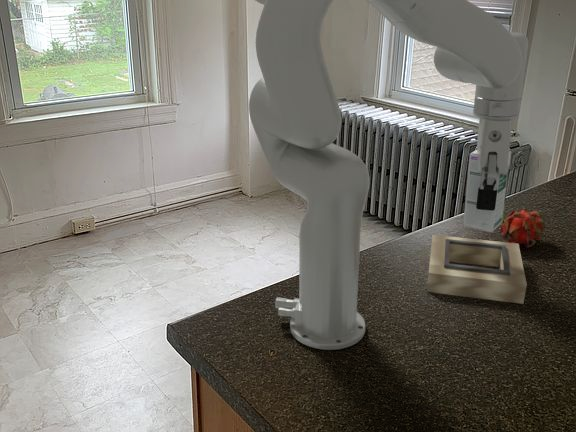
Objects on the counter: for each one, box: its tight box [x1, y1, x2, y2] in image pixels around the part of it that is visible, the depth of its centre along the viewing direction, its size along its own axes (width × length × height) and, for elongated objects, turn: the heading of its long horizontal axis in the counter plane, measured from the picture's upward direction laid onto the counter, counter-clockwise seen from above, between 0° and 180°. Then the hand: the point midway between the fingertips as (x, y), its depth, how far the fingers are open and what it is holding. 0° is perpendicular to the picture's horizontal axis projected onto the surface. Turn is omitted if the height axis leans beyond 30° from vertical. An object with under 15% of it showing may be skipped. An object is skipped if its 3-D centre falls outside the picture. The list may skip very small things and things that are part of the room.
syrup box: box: [462, 149, 512, 233], centre depth 109 cm, size 6×6×14 cm
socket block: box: [426, 234, 528, 305], centre depth 115 cm, size 17×17×5 cm
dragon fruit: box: [499, 207, 547, 249], centre depth 128 cm, size 8×8×12 cm
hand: (484, 200), depth 110 cm, fingers closed on syrup box, 7 cm apart
